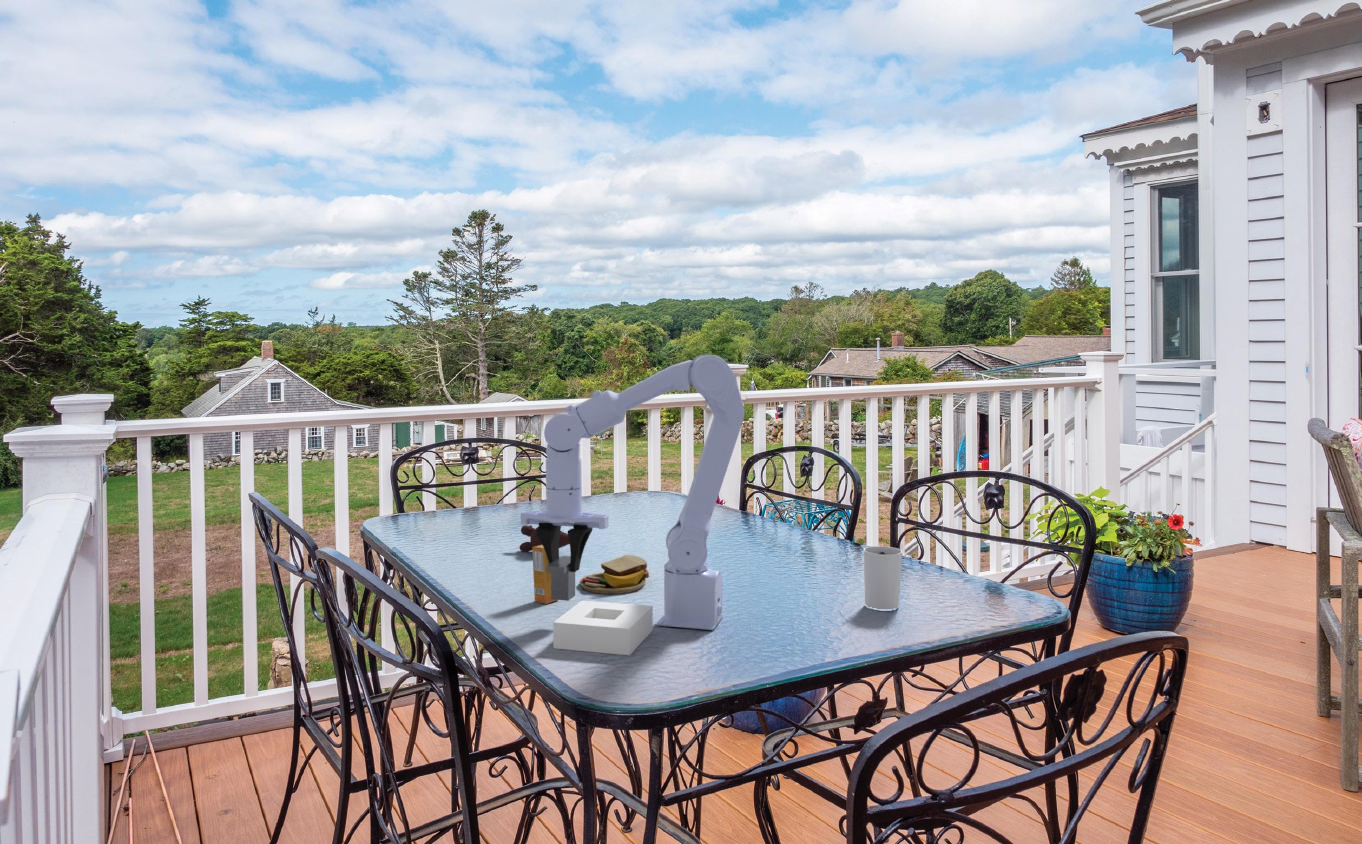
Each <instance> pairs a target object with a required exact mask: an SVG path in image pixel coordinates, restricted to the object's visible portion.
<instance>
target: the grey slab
mask: <svg viewBox="0 0 1362 844" xmlns="http://www.w3.org/2000/svg"><path fill="white" fill-rule="evenodd" d="M570 558H571V555H570V556H569V555H561V556H559V558H558V559H557V560H555V561H553V562H552V563H550V564H548V565H547V566H546V572H551V599H555V600H557V601H567V602H569V601H570V600H571V599H573V598H574V597H575V596H576V572H571V566H570Z"/></svg>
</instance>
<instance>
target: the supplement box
mask: <svg viewBox="0 0 1362 844" xmlns="http://www.w3.org/2000/svg"><path fill="white" fill-rule="evenodd" d="M531 551H532V567H533V568H532V570H533V571H532V572H533V574H532V575H533V590H534V591H533V593H534V602H536V603H539V604H540V603H541V604H545V605H547V604H550V603H553V602H555V601H558V600H555V599H551V572H546V566H547V565H548V564H549V562H548V558H547V555H546V552H545V550H544V547H543V545H540V546H536V547H533V548H532V550H531Z"/></svg>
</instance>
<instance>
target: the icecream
mask: <svg viewBox="0 0 1362 844" xmlns="http://www.w3.org/2000/svg"><path fill="white" fill-rule="evenodd" d="M538 527H539V525H538V526H537V527H533V525H532V524H529V525H522V526H521V529H520V532H521V534H522V535H524V536H526V537H528V538H530V539H529V540H530V541H525V542H523V543H522V542H521V544H520V545H519V551H521V552H528V553H529V552H531V551H533V550H532V548H533V547H536V546H540V545H542V543H541V541H540V539H539V538H538V536H537V534H536V529H538ZM565 546H570V543H569V537H568V532H567V533H566V532H564V531H562V530H560V538H559V549H561V548H563V547H565Z"/></svg>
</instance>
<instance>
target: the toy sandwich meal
mask: <svg viewBox="0 0 1362 844" xmlns="http://www.w3.org/2000/svg"><path fill="white" fill-rule="evenodd" d="M600 566H601V569H602V570H603V572H599V573H593V574H589V575H586V576H584V577H582V578H581V579H580V580H579V584H580V585H581V586H582V587H583V589H584V590H586V591H588V592H591V593H596V594H606V595H607V594H608V595H609V594H610V595H611V594H612V595H613V594H614V595H615V594H625V593H632V592H635V591H638V590H640V589H641V588H642V587H643V586H644V585H645V584H646V582H647V580H646V579H648V578H650V572H649V570H648V569H647V568H648V563H647V561H646V559H644V558H642V557H640V556H637V555H632V554H624V555H623V556H621V557H617V558H614V559H612V560H609V561H608V560H607V561H605V562H602V563H601V564H600Z"/></svg>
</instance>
